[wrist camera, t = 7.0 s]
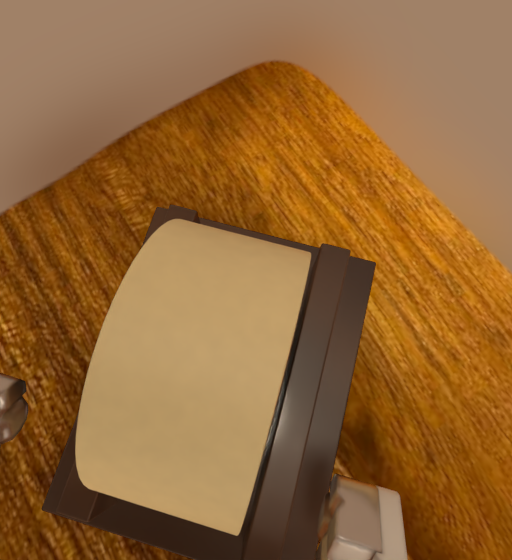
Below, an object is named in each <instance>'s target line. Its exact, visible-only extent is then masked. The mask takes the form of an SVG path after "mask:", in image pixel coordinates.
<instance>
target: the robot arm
mask: <svg viewBox="0 0 512 560" xmlns="http://www.w3.org/2000/svg"><path fill="white" fill-rule="evenodd" d="M25 392H26V384H25V381H23V380H21V379H18V378H15V377H12V376H9V375H6V374H3V373H0V446H1V444H3V443H6V442H8V441H10V440H13V439H14V437H15V436H16V435H17V434H18V433H19V432H20V430H21V429H22V427H23V425H24V423H25V421H26V419H27V414H28V403H27V402H26V401H25V399H24V398H23V397H22V395H23V394H24V393H25ZM317 536H318V538H319V540H320V542H321V543H320V545H319V547H318V549H317V552H316V554H315V560H408V559H407V551H406V543H405V534H404V526H403V518H402V509H401V501H400V496H399V494H398V492H396V491H392V490H389V489H386V488H382V487H379V486H375V485H374V484H370V483H367V482H363V481H360V480H356V479H353V478H349V477H346V476H342V475H339V474H335V475H334V476H333V478H332V480H331V483H330V493H328V494H326V495H325V497H324V499H323V502H322V505H321V509H320V513H319V519H318V527H317Z"/></svg>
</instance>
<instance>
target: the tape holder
mask: <svg viewBox="0 0 512 560" xmlns="http://www.w3.org/2000/svg"><path fill="white" fill-rule="evenodd" d="M173 219H183V220H187V221H190V222H194V223H198V224H202V225H206V226H210V227H214V228H218V229H222V230H225V231H229V232H233V233H237V234H241V235H245V236H249V237H253V238H257V239H261V240H264V241H268V242H272V243H276V244H280V245H284V246H288V247H292V248H296V249H299V250H303V251H307V252H310V253H311V261H310V267H309V271H308V276H307V281H306V285H305V290H304V294H303V298H302V303H301V307H300V311H299V317H298V322H297V326H296V331H295V335H294V340H293V344H292V348H291V353H290V357H289V361H288V365H287V369H286V373H285V377H284V381H283V385H282V389H281V393H280V396H279V400H278V404H277V408H276V412H275V415H274V419H273V423H272V426H271V430H270V433H269V437H268V440H267V444H266V447H265V451H264V454H263V457H262V460H261V463H260V467H259V470H258V474H257V478H256V481H255V485H254V488H253V492H252V495H251V499H250V502H249V506H248V509H247V512H246V515H245V519H244V522H243V525H242V528H241V531H240V533H239V535H238V536H236V535H233V534H230V533H226V532H223V531H220V530H217V529H214V528H211V527H207V526H204V525H201V524H198V523H195V522H192V521H188V520H185V519H182V518H179V517H176V516H173V515H170V514H166V513H163V512H160V511H157V510H154V509H151V508H147V507H144V506H141V505H138V504H135V503H132V502H129V501H125V500H122V499H119V498H116V497H113V496H110V495H106V494H103V493H100V492H97V491H94V490H91V489H88V488H87V487H86V486H84V485H83V483H82V481H81V480H80V478H79V475H78V471H77V467H76V455H75V445H76V430H77V421H78V415H77V418H76V420H75V423H74V425H73V428H72V431H71V433H70V436H69V439H68V441H67V444H66V446H65V449H64V452H63V454H62V457H61V460H60V462H59V465H58V467H57V470H56V473H55V475H54V478H53V480H52V483H51V486H50V488H49V491H48V494H47V496H46V499H45V501H44V504H43V507H42V510H43V511H46V512H49V513H52V514H55V515H59V516H62V517H65V518H68V519H71V520H74V521H77V522H80V523H83V524H86V525H89V526H92V527H96V528H99V529H102V530H105V531H108V532H111V533H114V534H117V535H120V536H123V537H126V538H129V539H133V540H136V541H139V542H142V543H145V544H148V545H151V546H154V547H157V548H160V549H163V550H166V551H170V552H173V553H176V554H179V555H182V556H185V557H188V558H191V559H194V560H314V559H315V554H316V550H317V545H318V540H319V538H318V536H317V527H318V519H319V513H320V509H321V505H322V502H323V499H324V497H325V495H326V494H328V492H329V487H330V482H331V477H332V473H333V468H334V463H335V458H336V453H337V448H338V444H339V439H340V434H341V429H342V424H343V420H344V415H345V410H346V405H347V400H348V396H349V391H350V386H351V381H352V376H353V372H354V367H355V362H356V357H357V352H358V347H359V343H360V338H361V333H362V328H363V323H364V319H365V314H366V309H367V304H368V299H369V295H370V290H371V285H372V280H373V275H374V270H375V266H376V263H375V262H371V261H368V260H364V259H360V258H356V257H352V256H350V250H348V249H344V248H340V247H336V246H332V245H328V244H324V243H323V244H322V245H321V247H320V248H317V247H313V246H309V245H305V244H301V243H297V242H293V241H289V240H285V239H282V238H278V237H274V236H270V235H266V234H262V233H258V232H254V231H250V230H246V229H242V228H239V227H235V226H231V225H227V224H223V223H219V222H215V221H211V220H207V219H203V218H199V217H198V214H197V211H195V210H191V209H187V208H183V207H179V206H175V205H170V206H169V209H164V208H160V207H157V208H156V211H155V213H154V216H153V219H152V221H151V224H150V226H149V229H148V232H147V234H146V237H145V240H144V242H143V245H144V244H145V243H146V242H147V240H148V239H149V238H150V236H151V235H152V234H153V233H154V232H155V231H156V230H157V229H158V228H159V227H160V226H162V225H163V224H165V223H166V222H168V221H170V220H173ZM143 245H142V247H143ZM142 247H141V248H142ZM78 414H79V412H78Z"/></svg>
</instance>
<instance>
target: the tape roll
mask: <svg viewBox="0 0 512 560" xmlns="http://www.w3.org/2000/svg"><path fill="white" fill-rule="evenodd" d="M310 261H311V253H310V252H307V251H303V250H299V249H296V248H292V247H288V246H284V245H280V244H276V243H272V242H268V241H264V240H261V239H257V238H253V237H249V236H245V235H241V234H237V233H233V232H229V231H225V230H222V229H218V228H214V227H210V226H206V225H202V224H198V223H194V222H190V221H187V220H183V219H173V220H170V221H168V222H166V223H165V224H163V225H162V226H160V227H159V228H158V229H157V230H156V231H155V232H154V233H153V234H152V235H151V236H150V238H149V239H148V240H147V242H146V243H145V244H144V245H143V247H142V248H141V250H140V251H139V253H138V254H137V256H136V257H135V259H134V260H133V262H132V264H131V266H130V267H129V269H128V271H127V273H126V275H125V276H124V278H123V280H122V282H121V284H120V286H119V288H118V290H117V293H116V295H115V297H114V299H113V301H112V304H111V306H110V308H109V311H108V313H107V315H106V318H105V320H104V323H103V326H102V328H101V331H100V334H99V337H98V340H97V342H96V345H95V348H94V352H93V355H92V358H91V362H90V365H89V368H88V372H87V376H86V380H85V384H84V388H83V392H82V397H81V403H80V408H79V414H78V421H77V430H76V445H75V455H76V467H77V471H78V475H79V478H80V480H81V481H82V483H83V485H84V486H86V487H87V488H88V489H91V490H94V491H97V492H100V493H103V494H106V495H110V496H113V497H116V498H119V499H122V500H125V501H129V502H132V503H135V504H138V505H141V506H144V507H147V508H151V509H154V510H157V511H160V512H163V513H166V514H170V515H173V516H176V517H179V518H182V519H185V520H188V521H192V522H195V523H198V524H201V525H204V526H207V527H211V528H214V529H217V530H220V531H223V532H226V533H230V534H233V535H236V536H238V535H239V533H240V531H241V528H242V525H243V522H244V519H245V515H246V512H247V509H248V506H249V502H250V499H251V495H252V492H253V488H254V485H255V481H256V478H257V474H258V470H259V467H260V463H261V460H262V457H263V454H264V451H265V447H266V444H267V440H268V437H269V433H270V430H271V426H272V423H273V419H274V415H275V412H276V408H277V404H278V400H279V396H280V393H281V389H282V385H283V381H284V377H285V373H286V369H287V365H288V361H289V357H290V353H291V348H292V344H293V340H294V335H295V331H296V326H297V322H298V317H299V311H300V307H301V303H302V298H303V294H304V290H305V285H306V281H307V276H308V271H309V267H310Z"/></svg>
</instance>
